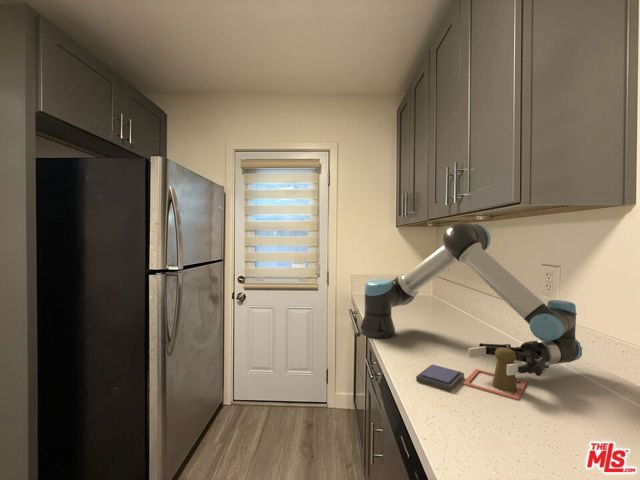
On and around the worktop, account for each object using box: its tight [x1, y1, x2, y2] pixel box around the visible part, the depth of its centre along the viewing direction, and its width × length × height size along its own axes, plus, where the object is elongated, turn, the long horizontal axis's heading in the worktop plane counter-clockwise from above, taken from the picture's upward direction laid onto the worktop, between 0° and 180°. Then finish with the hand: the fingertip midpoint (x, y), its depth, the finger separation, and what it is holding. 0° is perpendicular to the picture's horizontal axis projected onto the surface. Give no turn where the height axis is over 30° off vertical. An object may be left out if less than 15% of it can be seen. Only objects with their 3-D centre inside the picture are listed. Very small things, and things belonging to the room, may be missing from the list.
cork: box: [492, 347, 518, 393], centre depth 94 cm, size 6×6×11 cm
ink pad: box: [415, 364, 465, 393], centre depth 99 cm, size 12×10×2 cm
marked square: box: [462, 368, 528, 401], centre depth 97 cm, size 14×14×1 cm
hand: (486, 361), depth 95 cm, fingers open, 13 cm apart
